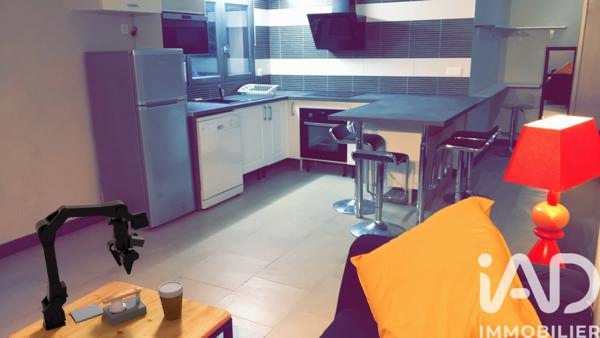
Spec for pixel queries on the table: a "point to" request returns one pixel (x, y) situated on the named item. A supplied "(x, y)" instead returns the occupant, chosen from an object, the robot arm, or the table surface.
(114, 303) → the plug
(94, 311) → the mat
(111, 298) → the light orange flat bar
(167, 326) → the table surface
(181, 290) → the disposable coffee cup
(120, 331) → the table surface
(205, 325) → the table surface
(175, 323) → the table surface
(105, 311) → the socket base
